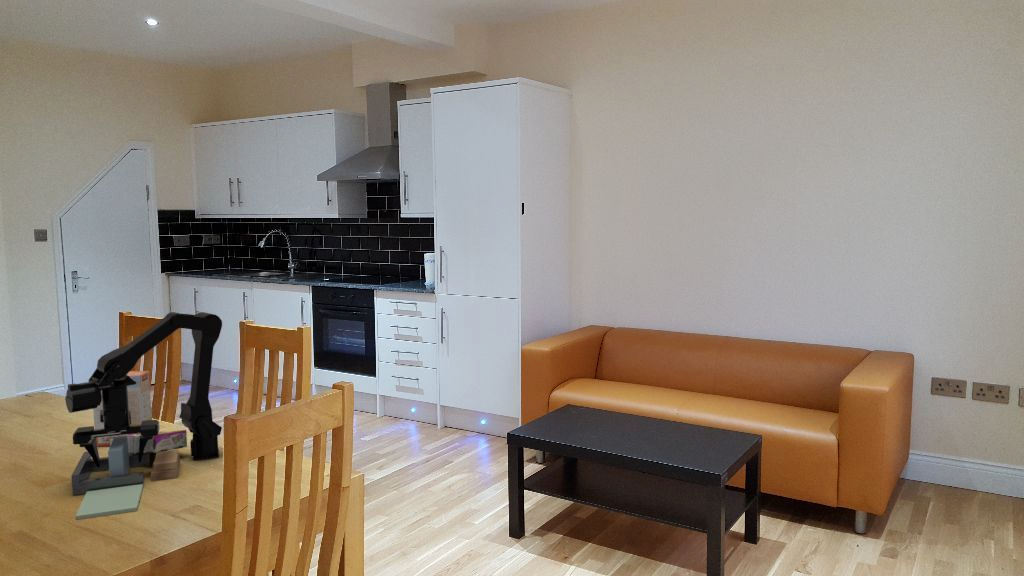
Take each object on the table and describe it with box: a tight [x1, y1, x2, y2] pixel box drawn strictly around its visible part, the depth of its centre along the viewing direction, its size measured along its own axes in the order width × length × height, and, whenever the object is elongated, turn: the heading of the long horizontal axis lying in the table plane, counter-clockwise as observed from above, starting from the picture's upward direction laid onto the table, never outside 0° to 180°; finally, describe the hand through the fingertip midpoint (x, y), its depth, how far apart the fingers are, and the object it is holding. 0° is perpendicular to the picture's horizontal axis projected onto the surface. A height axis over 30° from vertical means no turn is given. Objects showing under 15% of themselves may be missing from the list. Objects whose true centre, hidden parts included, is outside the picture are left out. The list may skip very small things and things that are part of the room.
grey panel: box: [107, 436, 131, 477], centre depth 182 cm, size 3×12×9 cm, turn 22°
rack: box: [70, 451, 151, 497], centre depth 182 cm, size 15×18×5 cm
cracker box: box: [92, 370, 153, 447], centre depth 208 cm, size 14×6×21 cm, turn 92°
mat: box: [75, 484, 144, 520], centre depth 167 cm, size 12×15×1 cm
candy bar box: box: [109, 429, 188, 454], centre depth 196 cm, size 11×5×16 cm
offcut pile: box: [150, 449, 181, 482], centre depth 186 cm, size 6×12×4 cm, turn 22°
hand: (119, 464), depth 182 cm, fingers open, 9 cm apart
